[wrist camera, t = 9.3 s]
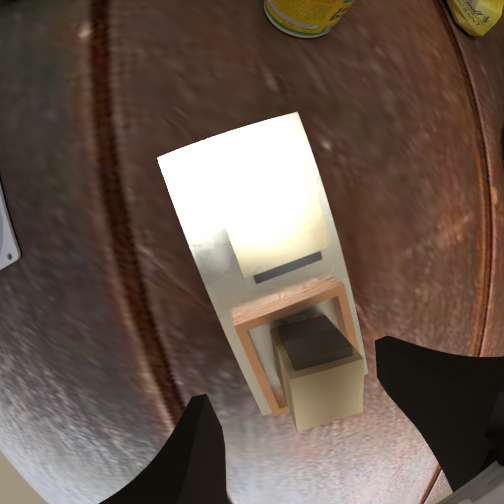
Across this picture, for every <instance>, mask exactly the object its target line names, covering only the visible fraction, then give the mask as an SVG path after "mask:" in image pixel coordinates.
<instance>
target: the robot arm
mask: <svg viewBox="0 0 504 504" xmlns="http://www.w3.org/2000/svg"><path fill="white" fill-rule="evenodd" d="M10 254H11V255H12V259H11V257H10ZM20 256H21V253H20V250H19V247H18V244H17V241H16V238H15V235H14V232H13V228H12V225H11V222H10V218H9V215H8V211H7V208H6V204H5V200H4V196H3V192H2V188H1V183H0V270H1V269H3V268H5V267H7V266H8V265H10V264H12V263H14V262H15V261H17V260H19V259H20ZM375 350H376V366H377V378H378V380H379V381H380V383H381V385H382V386H383V388H384V389H385V391H386V392H387V394H388V395H389V396H390V397H391V399H392V400H393V401H394V402H395V403H396V404H397V406H398V407H399V408H400V409H401V410H402V411H403V412H404V414H405V415H406V416H407V417H408V418H409V419H410V421H411V422H412V423H413V424H414V425H415V426H416V428H417V429H418V430H419V432H420V433H421V435H422V436H423V438H424V439H425V441H426V442H427V444H428V445H429V447H430V449H431V450H432V452H433V454H434V456H435V457H436V459H437V461H438V463H439V464H440V466H441V468H442V470H443V472H444V474H445V476H446V478H447V480H448V482H449V485H450V487H451V489H452V491H453V493H452V494H451V495H449V496H448V497H446V498H444V499H443V500H441V501H440V502H438V503H437V504H504V356H502V357H471V356H462V355H455V354H449V353H445V352H440V351H436V350H432V349H429V348H425V347H422V346H419V345H415V344H412V343H409V342H406V341H403V340H400V339H397V338H394V337H391V336H385V337H382V338H380V339H378V340H375ZM99 504H228V501H227V492H226V461H225V443H224V437H223V431H222V426H221V424H220V422H219V420H218V418H217V416H216V414H215V412H214V410H213V407H212V405H211V403H210V401H209V399H208V397H207V394H203V395H198V396H193V397H192V398H191V399H190V401H189V403H188V405H187V407H186V409H185V411H184V413H183V414H182V416H181V418H180V420H179V422H178V424H177V425H176V427H175V429H174V431H173V432H172V434H171V435H170V437H169V438H168V440H167V441H166V443H165V444H164V446H163V447H162V449H161V450H160V452H159V453H158V454H157V455H156V457H155V458H154V459H153V460H152V461H151V462H150V464H149V465H148V466H147V467H146V468H145V469H144V470H143V471H142V472H141V473H140V474H139V475H138V476H136V477H135V478H134V479H133V480H132V481H131V482H130V483H128V484H127V485H126V486H125V487H123V488H122V489H121V490H119V491H118V492H117V493H115V494H114V495H112V496H111V497H109V498H107V499H106V500H104V501H102V502H101V503H99Z"/></svg>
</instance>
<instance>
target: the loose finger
mask: <svg viewBox="0 0 504 504" xmlns="http://www.w3.org/2000/svg"><path fill="white" fill-rule="evenodd" d="M270 334H271V340H272V346H273V352H274V358H275V364H276V370H277V376H278V379H279V382H280V385H281V388H282V390H283V393H284V396H285V399H286V402H287V405H288V407H289V410H290V413H291V416H292V419H293V421H294V424H295V427H296V430H297V432H298V431H301V430H305V429H309V428H313V427H316V426H320V425H323V424H327V423H330V422H333V421H336V420H340V419H343V418H346V417H349V416H352V415H355V414H358V413H360V412H362V410H363V388H364V358H363V357H362V355H361V354H360V353H359V352H358V351H357V350H356V349H355V347H354V346H353V345H352V344H351V343H350V342H349V341H348V340H347V338H346V337H345V336H344V335H343V334H342V333H341V332H340V331H339V329H338V328H337V327H336V326H335V325H334V324H333V323H332V321H331V320H330V319H329V318H328V317H327V316H326V315H322V316H318V317H314V318H310V319H306V320H302V321H297V322H293V323H289V324H284V325H280V326H277V328H272V329H270Z"/></svg>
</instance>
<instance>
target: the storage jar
mask: <svg viewBox="0 0 504 504" xmlns="http://www.w3.org/2000/svg"><path fill="white" fill-rule="evenodd" d="M501 156H502V163H503V168H504V123H503V126H502V131H501Z"/></svg>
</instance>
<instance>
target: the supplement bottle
mask: <svg viewBox="0 0 504 504" xmlns="http://www.w3.org/2000/svg"><path fill="white" fill-rule="evenodd" d="M354 1H355V0H265V1H264V9H265V12H266V14H267V16H268V18H269V20H270V21H271V22H272V23H273V24H274V25H275V26H276V27H277V28H278V29H280V30H281V31H283V32H285V33H287V34H290V35H293V36H296V37H301V38H313V37H318V36H321V35H324V34H326V33H328V32H329V31H330V30H331V29H332V28H333V26H334V25H335V24H336V23H337V21H338V20H339V19H340V18H341V16H342V15H343V14H344V13H345V11H346V10H347V9H348V8H349V7H350V6H351V4H352V3H353V2H354Z"/></svg>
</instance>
